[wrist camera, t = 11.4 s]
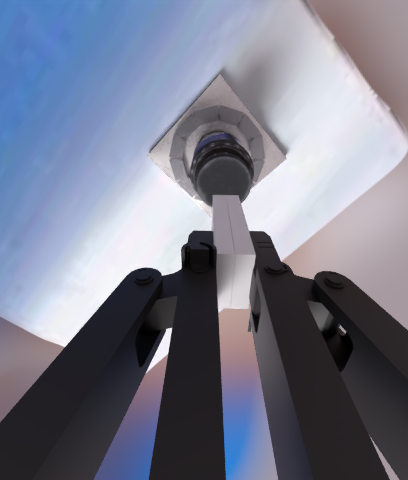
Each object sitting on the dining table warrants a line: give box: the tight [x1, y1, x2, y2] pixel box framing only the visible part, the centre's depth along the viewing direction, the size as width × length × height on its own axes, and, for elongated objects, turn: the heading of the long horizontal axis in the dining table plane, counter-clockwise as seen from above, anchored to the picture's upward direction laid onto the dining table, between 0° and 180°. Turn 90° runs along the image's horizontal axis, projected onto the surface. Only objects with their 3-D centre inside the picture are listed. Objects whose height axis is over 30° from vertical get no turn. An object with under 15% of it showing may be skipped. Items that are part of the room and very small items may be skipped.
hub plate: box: [147, 74, 287, 218], centre depth 31 cm, size 12×12×2 cm
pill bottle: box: [190, 131, 254, 207], centre depth 26 cm, size 6×6×11 cm
